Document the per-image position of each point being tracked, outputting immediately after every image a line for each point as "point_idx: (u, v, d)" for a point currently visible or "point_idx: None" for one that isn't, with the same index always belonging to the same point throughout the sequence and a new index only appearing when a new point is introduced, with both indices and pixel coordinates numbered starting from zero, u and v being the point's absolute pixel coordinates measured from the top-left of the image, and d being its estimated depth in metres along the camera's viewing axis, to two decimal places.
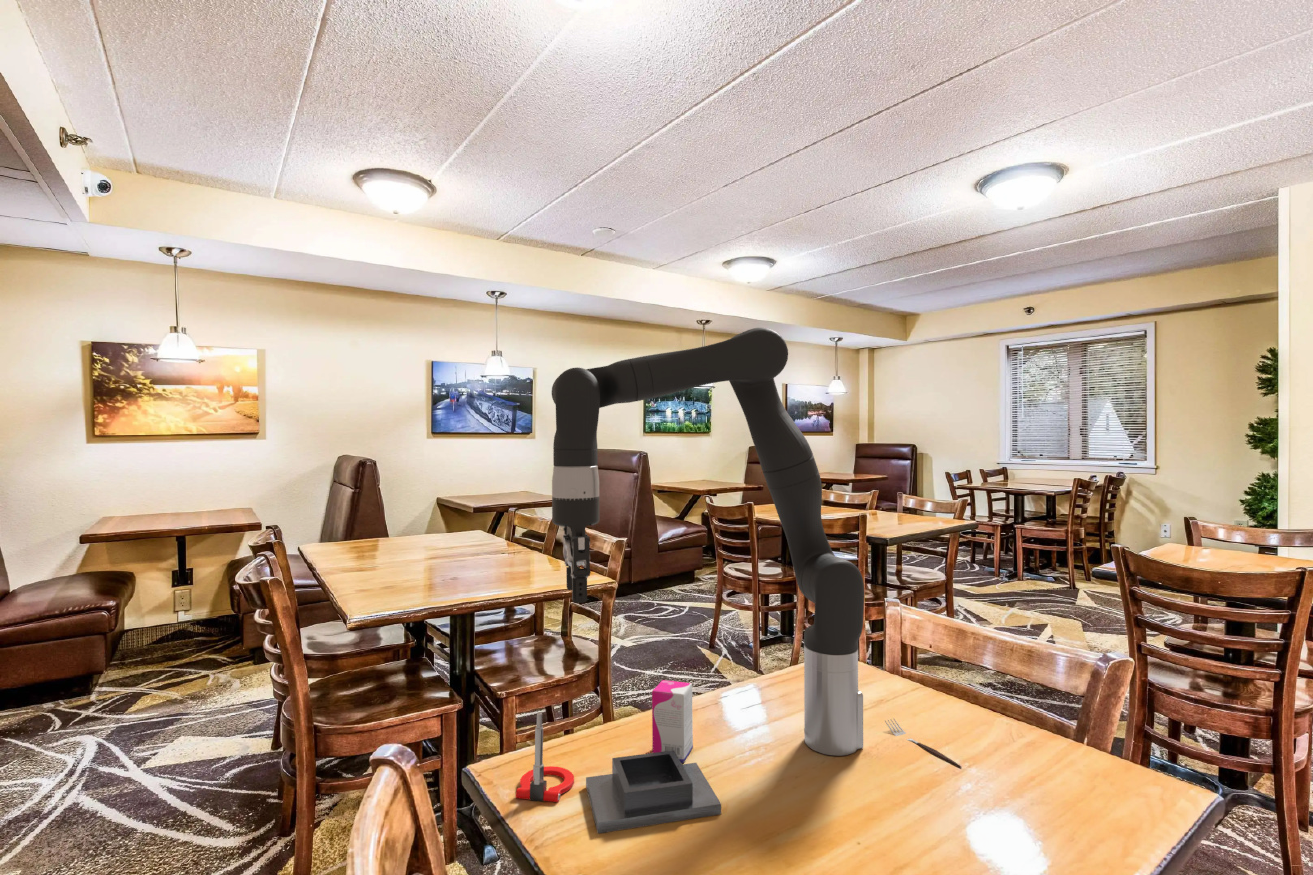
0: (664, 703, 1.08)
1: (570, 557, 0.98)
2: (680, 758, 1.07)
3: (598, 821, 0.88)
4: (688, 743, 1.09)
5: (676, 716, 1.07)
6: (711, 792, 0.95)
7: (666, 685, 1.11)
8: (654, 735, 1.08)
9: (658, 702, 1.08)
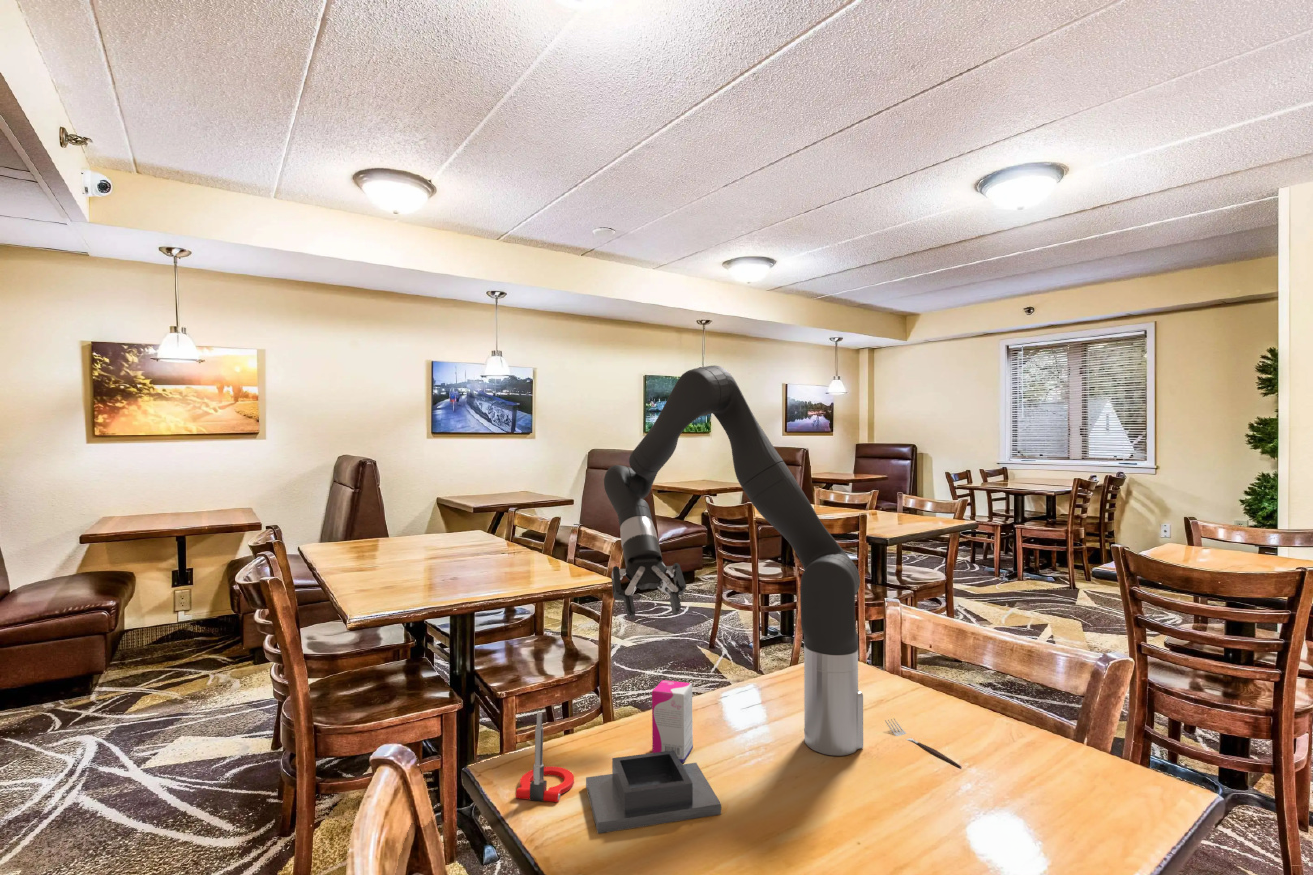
0: (664, 703, 1.08)
1: None
2: (680, 758, 1.07)
3: (598, 821, 0.88)
4: (688, 743, 1.09)
5: (676, 716, 1.07)
6: (711, 792, 0.95)
7: (666, 685, 1.11)
8: (654, 735, 1.08)
9: (658, 702, 1.08)
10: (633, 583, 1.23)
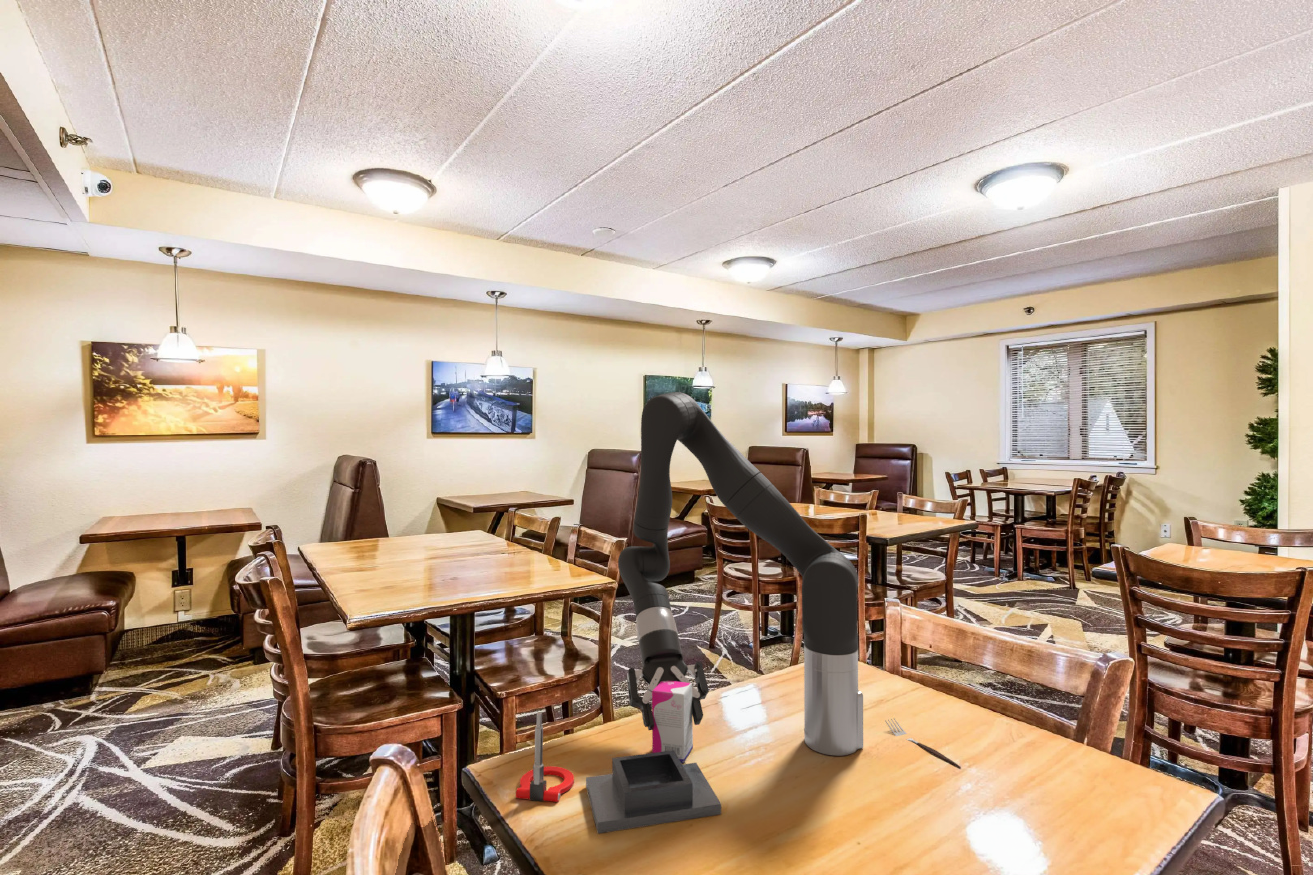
0: (664, 703, 1.08)
1: None
2: (680, 758, 1.07)
3: (598, 821, 0.88)
4: (688, 743, 1.09)
5: (676, 716, 1.07)
6: (711, 792, 0.95)
7: (666, 685, 1.11)
8: (654, 735, 1.08)
9: (658, 702, 1.08)
10: (650, 689, 1.11)
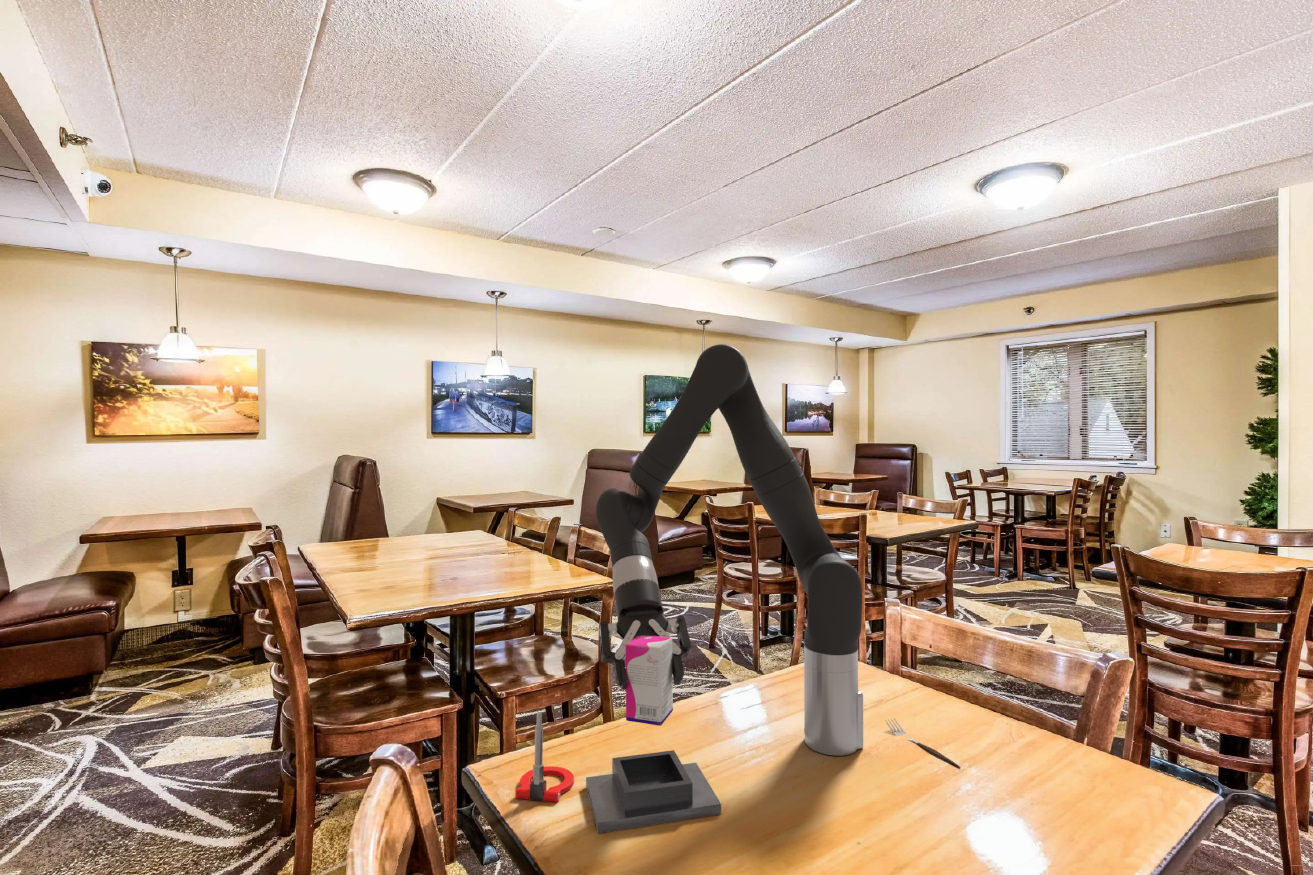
0: (638, 658, 0.95)
1: None
2: (657, 720, 0.94)
3: (598, 821, 0.88)
4: (667, 704, 0.96)
5: (652, 673, 0.94)
6: (711, 792, 0.95)
7: (642, 639, 0.98)
8: (628, 695, 0.95)
9: (633, 657, 0.95)
10: (625, 643, 0.98)
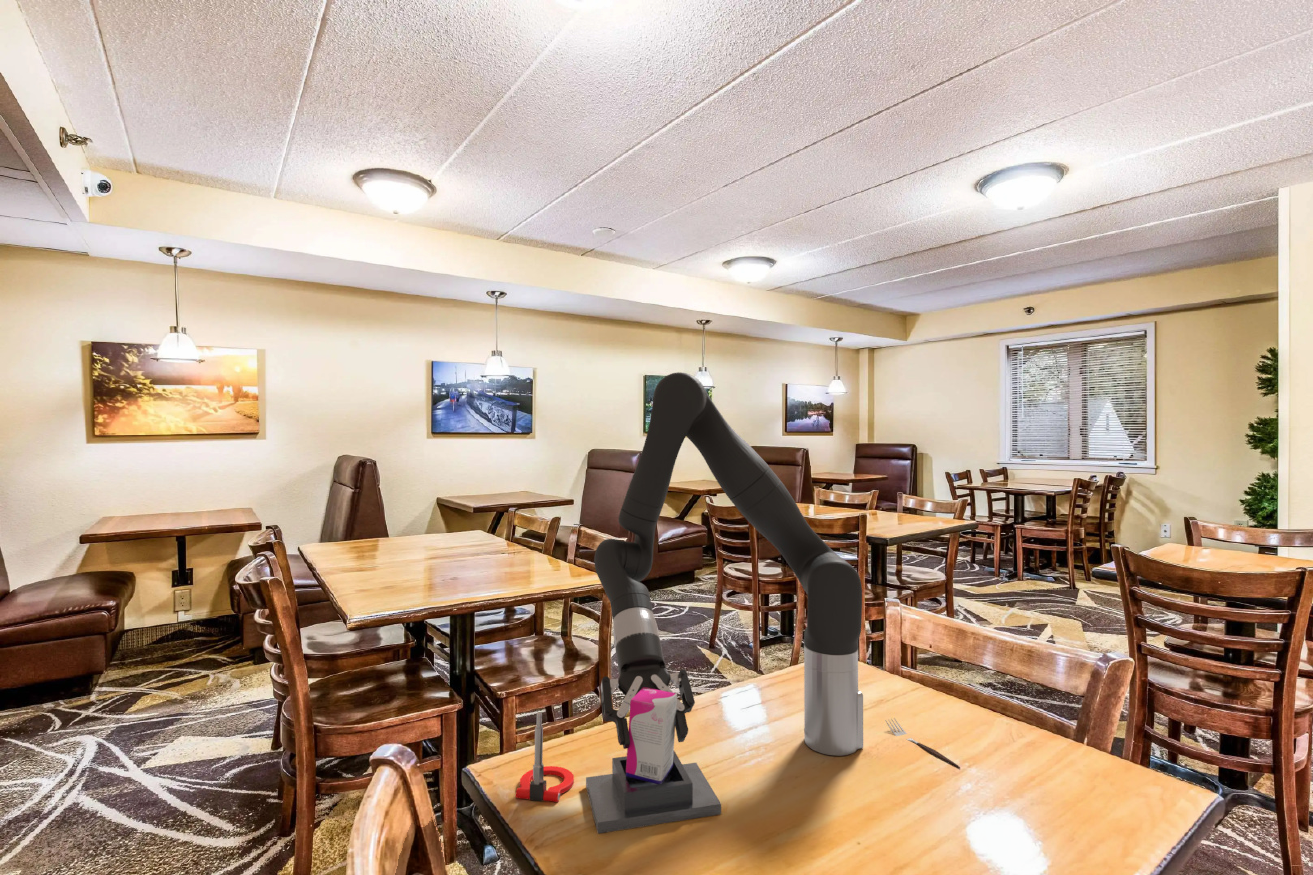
0: (643, 715, 0.93)
1: None
2: (657, 779, 0.93)
3: (598, 821, 0.88)
4: (668, 762, 0.95)
5: (656, 731, 0.93)
6: (711, 792, 0.95)
7: (647, 694, 0.96)
8: (629, 750, 0.94)
9: (637, 713, 0.94)
10: (627, 700, 0.97)
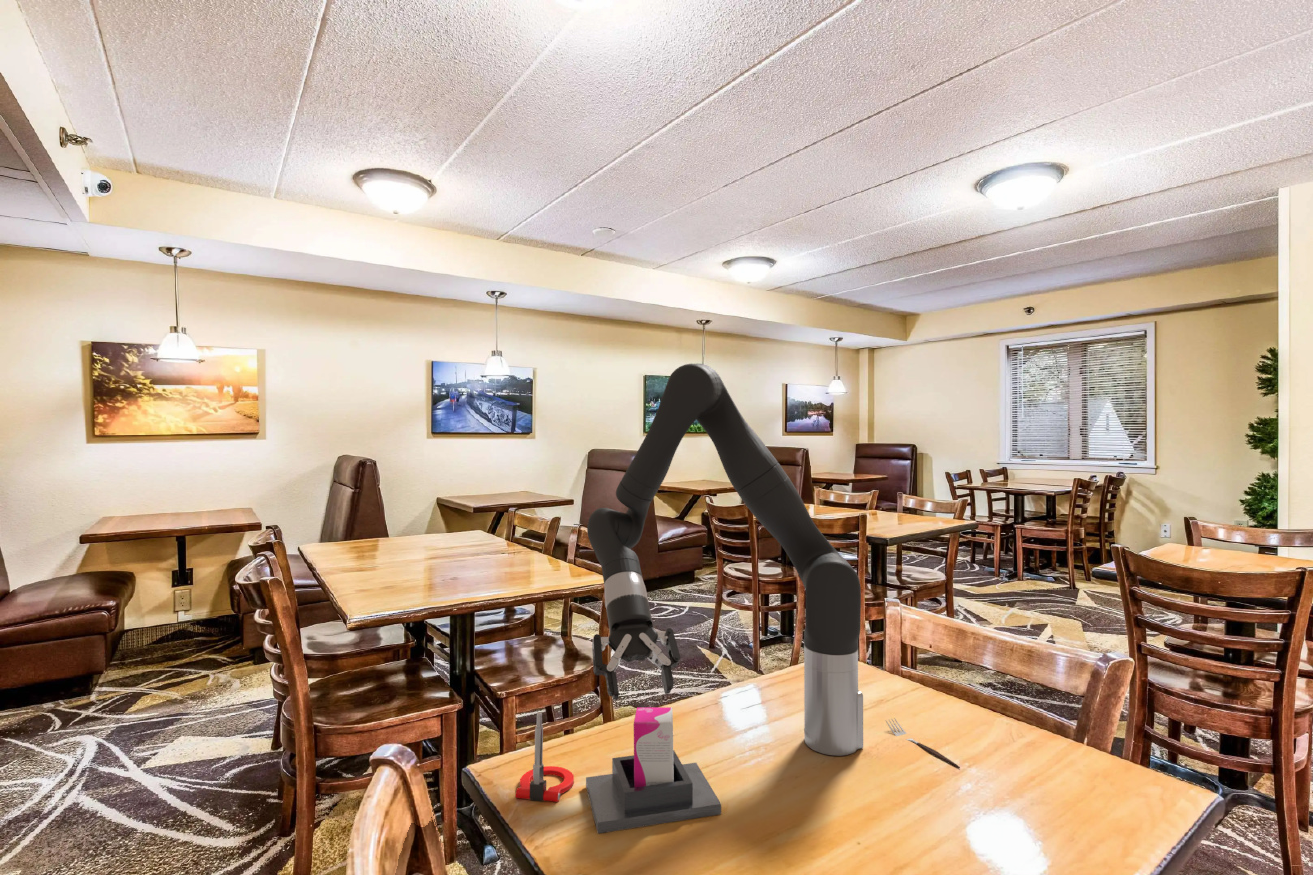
0: (648, 735, 0.93)
1: None
2: None
3: (598, 821, 0.88)
4: (673, 777, 0.95)
5: (663, 748, 0.93)
6: (711, 792, 0.95)
7: (646, 713, 0.96)
8: (637, 774, 0.93)
9: (642, 734, 0.93)
10: (616, 656, 1.03)
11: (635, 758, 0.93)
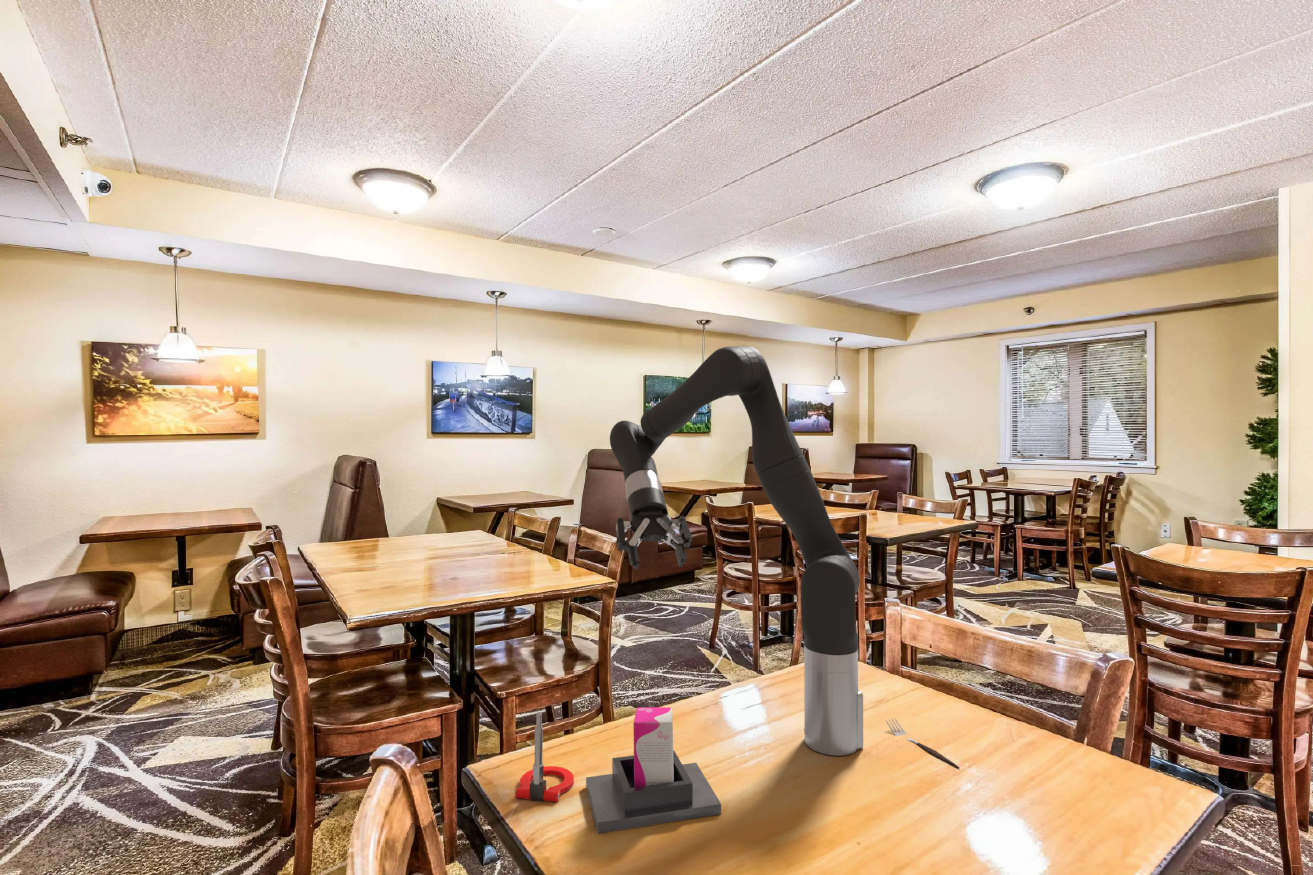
0: (648, 735, 0.93)
1: None
2: None
3: (598, 821, 0.88)
4: (673, 777, 0.95)
5: (663, 748, 0.93)
6: (711, 792, 0.95)
7: (646, 713, 0.96)
8: (637, 774, 0.93)
9: (642, 735, 0.93)
10: (637, 534, 1.21)
11: (635, 758, 0.93)
